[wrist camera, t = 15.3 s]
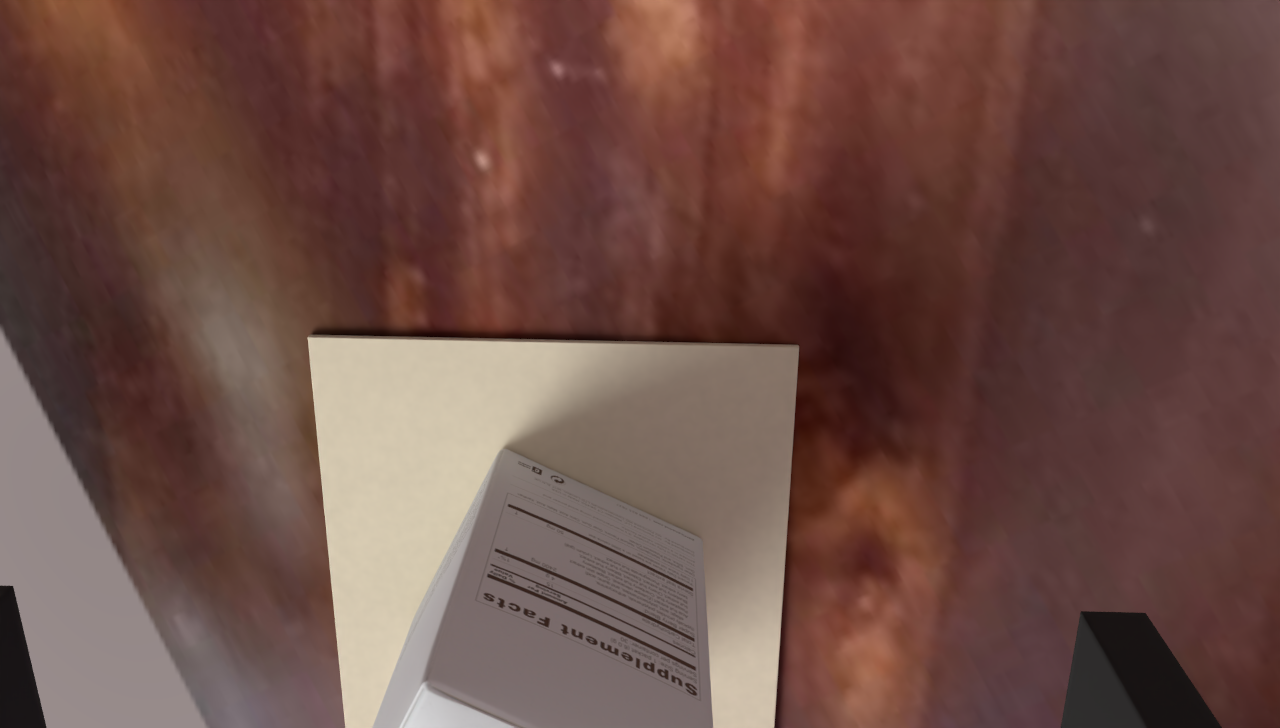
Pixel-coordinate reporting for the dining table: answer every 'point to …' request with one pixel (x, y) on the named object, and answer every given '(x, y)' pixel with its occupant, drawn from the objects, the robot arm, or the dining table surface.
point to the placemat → (569, 444)
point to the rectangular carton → (557, 616)
